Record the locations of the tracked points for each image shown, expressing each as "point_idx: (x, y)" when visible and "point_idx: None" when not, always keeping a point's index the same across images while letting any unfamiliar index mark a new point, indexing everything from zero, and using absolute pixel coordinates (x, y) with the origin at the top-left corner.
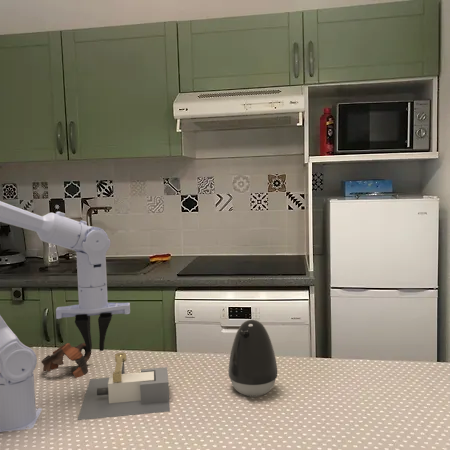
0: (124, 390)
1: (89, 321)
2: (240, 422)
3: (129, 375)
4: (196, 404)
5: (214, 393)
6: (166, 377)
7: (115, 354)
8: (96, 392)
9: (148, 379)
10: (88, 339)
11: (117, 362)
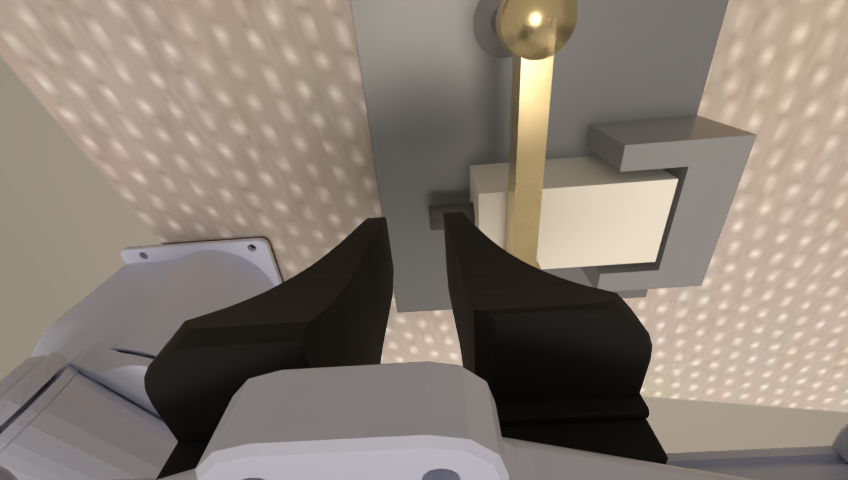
0: None
1: (347, 355)
2: (792, 339)
3: (564, 209)
4: (734, 247)
5: (831, 181)
6: (709, 246)
7: (506, 15)
8: (413, 147)
9: (635, 256)
10: (381, 338)
11: (522, 162)
